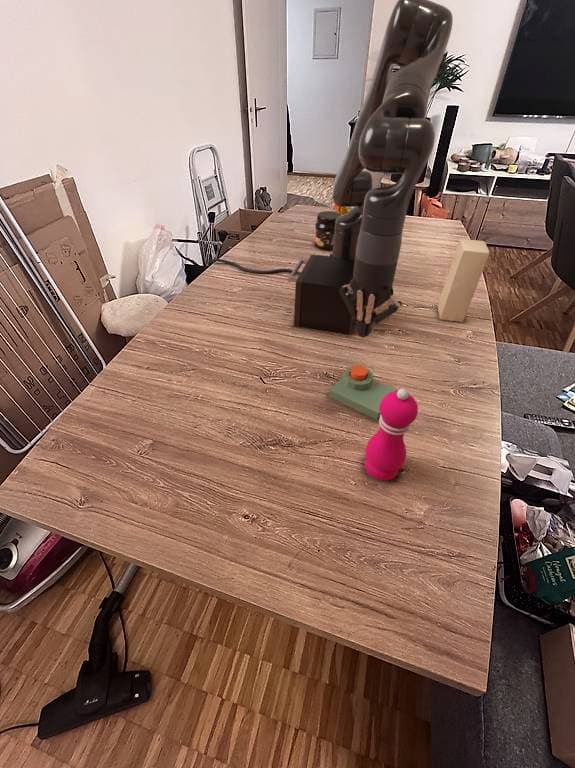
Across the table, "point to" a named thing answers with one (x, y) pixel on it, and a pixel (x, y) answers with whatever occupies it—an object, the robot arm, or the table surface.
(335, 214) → the supplement container
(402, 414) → the pepper mill
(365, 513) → the table surface
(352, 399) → the switch block
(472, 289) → the tall wooden block
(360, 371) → the button
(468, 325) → the table surface
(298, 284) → the oven door
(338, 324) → the oven
